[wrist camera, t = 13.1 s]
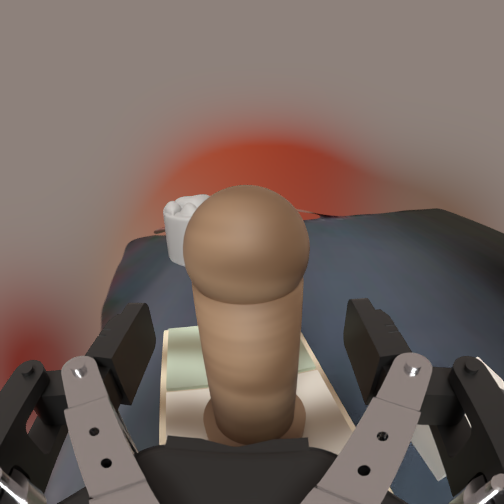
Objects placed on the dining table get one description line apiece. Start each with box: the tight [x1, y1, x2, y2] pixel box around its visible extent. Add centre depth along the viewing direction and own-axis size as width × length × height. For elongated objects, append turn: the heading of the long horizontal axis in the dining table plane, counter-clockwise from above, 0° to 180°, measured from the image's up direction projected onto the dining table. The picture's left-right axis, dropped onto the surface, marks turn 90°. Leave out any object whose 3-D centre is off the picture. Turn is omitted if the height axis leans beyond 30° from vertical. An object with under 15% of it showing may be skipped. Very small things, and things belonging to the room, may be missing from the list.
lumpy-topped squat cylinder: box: [163, 195, 210, 266], centre depth 47 cm, size 10×13×9 cm
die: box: [411, 357, 504, 481], centre depth 13 cm, size 5×5×6 cm
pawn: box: [183, 185, 310, 447], centre depth 14 cm, size 6×6×14 cm
